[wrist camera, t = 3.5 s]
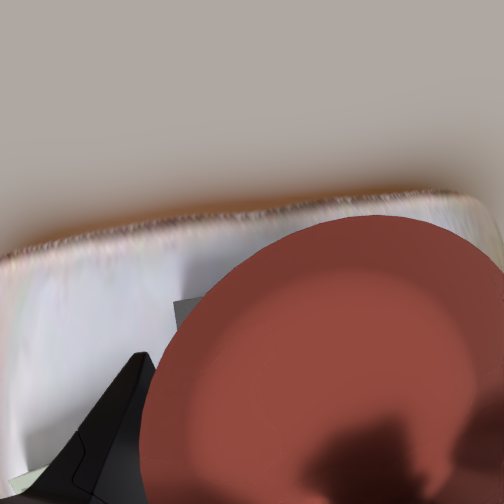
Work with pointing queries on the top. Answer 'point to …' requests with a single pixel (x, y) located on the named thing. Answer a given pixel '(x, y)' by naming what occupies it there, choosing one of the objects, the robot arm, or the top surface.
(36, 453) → the top surface
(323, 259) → the pin
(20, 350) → the top surface
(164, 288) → the top surface
